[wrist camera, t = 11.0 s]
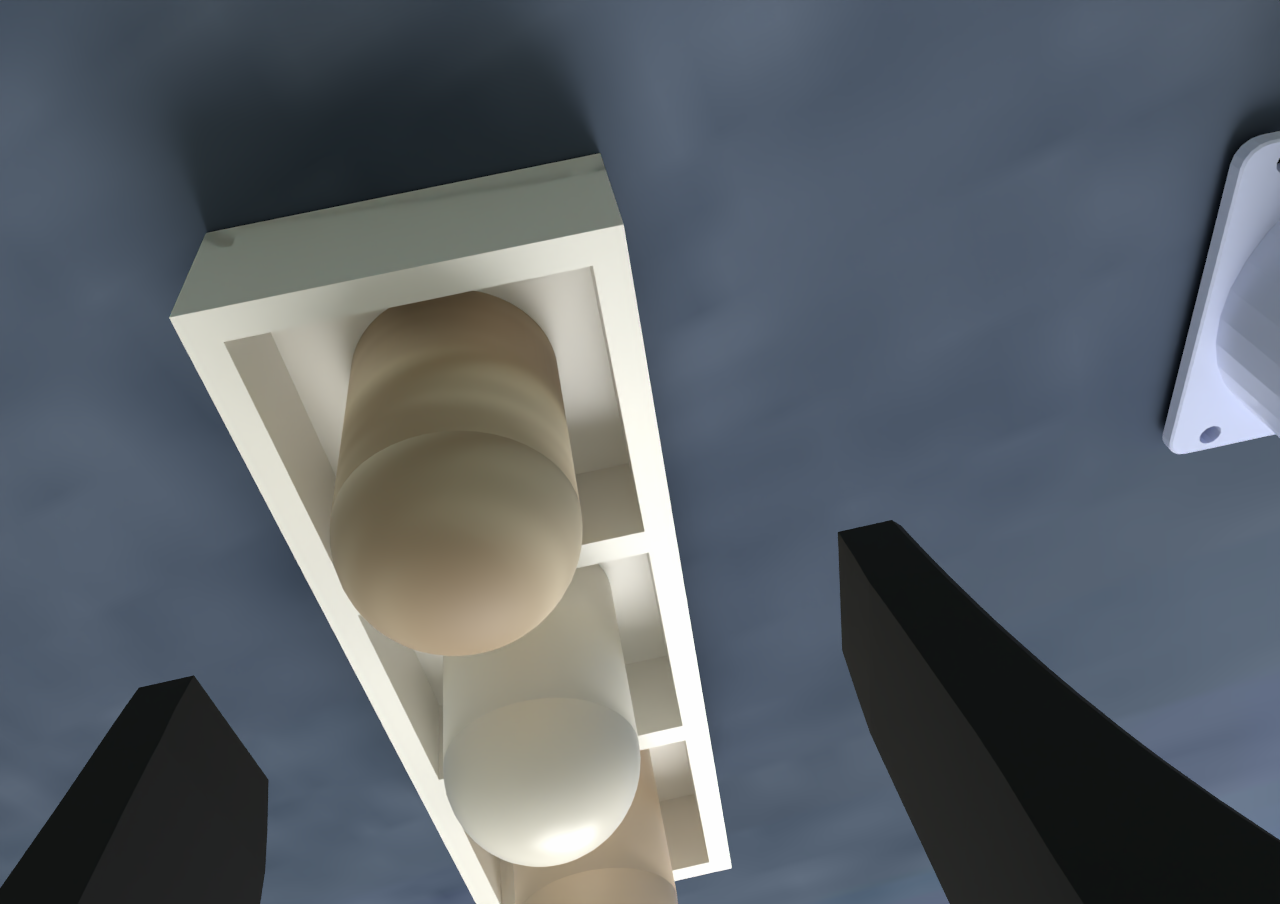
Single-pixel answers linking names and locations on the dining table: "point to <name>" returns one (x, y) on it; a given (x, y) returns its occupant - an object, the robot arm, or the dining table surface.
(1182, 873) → the robot arm
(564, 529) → the wooden egg
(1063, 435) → the dining table surface
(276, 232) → the egg carton
